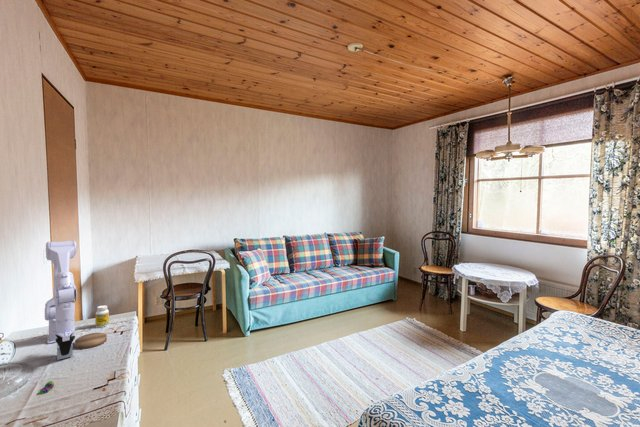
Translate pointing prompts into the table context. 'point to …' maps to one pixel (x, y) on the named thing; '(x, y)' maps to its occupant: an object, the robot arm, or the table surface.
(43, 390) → the green pink pointed oval
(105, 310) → the supplement bottle
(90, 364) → the table surface
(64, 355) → the blue cube
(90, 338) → the walnut bowl
